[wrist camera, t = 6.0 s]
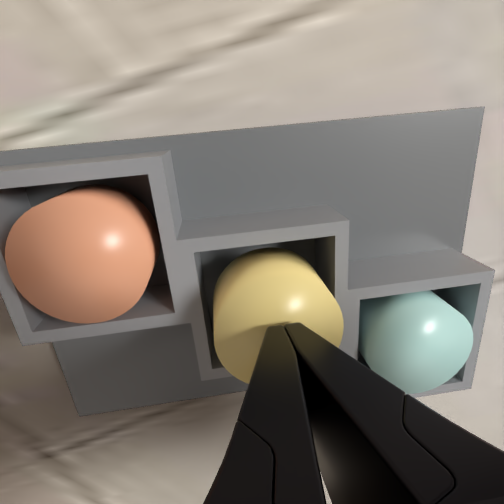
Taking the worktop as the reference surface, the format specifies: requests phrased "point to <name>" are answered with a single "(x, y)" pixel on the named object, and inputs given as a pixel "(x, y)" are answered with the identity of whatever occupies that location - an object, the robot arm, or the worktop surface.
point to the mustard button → (268, 305)
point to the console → (258, 237)
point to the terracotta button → (84, 253)
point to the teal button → (413, 339)
